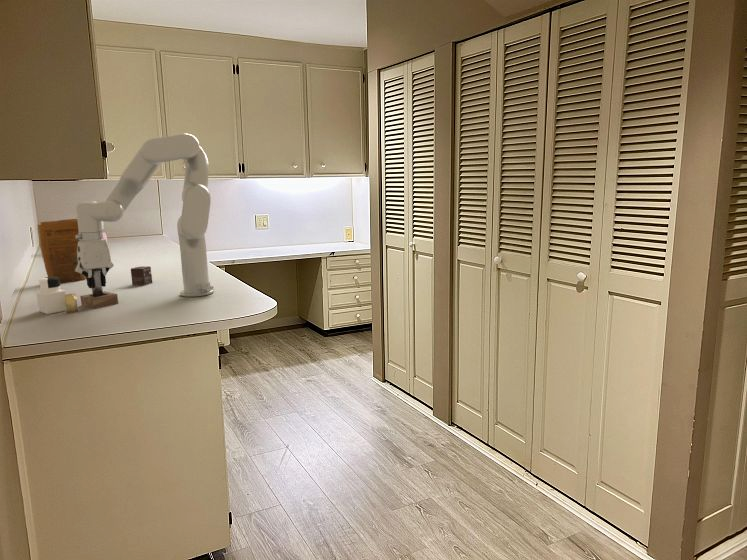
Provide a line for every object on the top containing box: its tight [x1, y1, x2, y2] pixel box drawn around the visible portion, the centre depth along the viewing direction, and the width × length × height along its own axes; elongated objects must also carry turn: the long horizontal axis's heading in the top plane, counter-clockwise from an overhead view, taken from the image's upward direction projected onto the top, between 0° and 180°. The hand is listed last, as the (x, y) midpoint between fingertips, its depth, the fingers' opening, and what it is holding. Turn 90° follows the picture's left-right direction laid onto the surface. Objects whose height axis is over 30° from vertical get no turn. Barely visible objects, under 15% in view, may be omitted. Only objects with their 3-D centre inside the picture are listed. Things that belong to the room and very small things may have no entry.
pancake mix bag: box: [36, 218, 87, 284], centre depth 245 cm, size 7×19×28 cm, turn 127°
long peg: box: [91, 268, 104, 297], centre depth 198 cm, size 3×3×12 cm
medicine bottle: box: [36, 276, 67, 315], centre depth 191 cm, size 7×7×12 cm
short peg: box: [64, 293, 79, 314], centre depth 189 cm, size 3×3×6 cm
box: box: [130, 265, 153, 286], centre depth 236 cm, size 6×6×7 cm
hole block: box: [80, 291, 119, 309], centre depth 200 cm, size 9×9×4 cm
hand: (97, 286), depth 199 cm, fingers closed on long peg, 3 cm apart
